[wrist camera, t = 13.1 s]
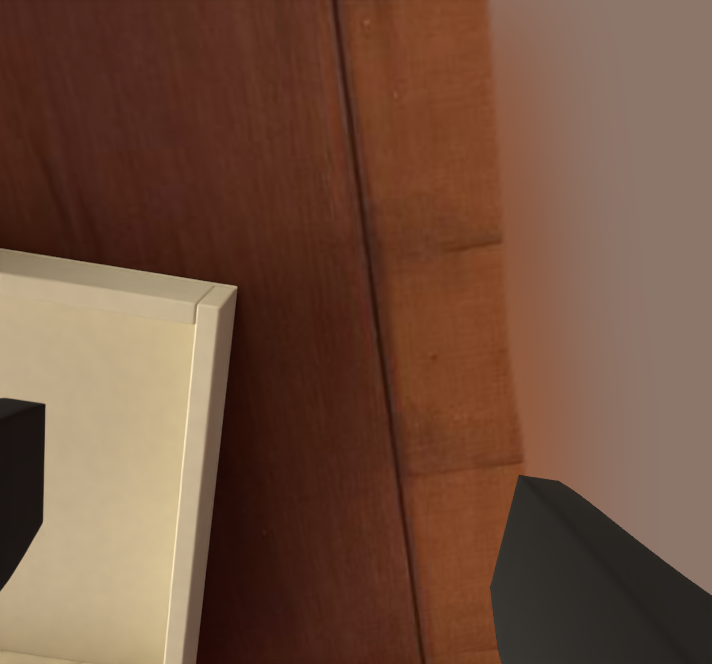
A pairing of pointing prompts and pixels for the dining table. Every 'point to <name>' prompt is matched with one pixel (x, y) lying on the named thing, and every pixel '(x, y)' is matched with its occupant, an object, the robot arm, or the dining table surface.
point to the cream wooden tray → (114, 456)
